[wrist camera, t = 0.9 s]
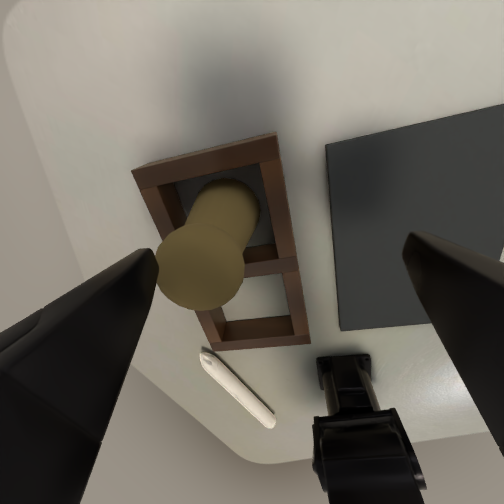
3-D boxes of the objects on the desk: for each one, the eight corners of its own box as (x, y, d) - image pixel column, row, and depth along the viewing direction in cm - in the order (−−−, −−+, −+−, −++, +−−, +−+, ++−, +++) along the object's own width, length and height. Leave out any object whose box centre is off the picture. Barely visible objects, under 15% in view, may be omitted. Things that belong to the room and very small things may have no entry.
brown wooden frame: (307, 322, 28) (311, 344, 26) (218, 331, 30) (213, 352, 28) (276, 131, 19) (276, 134, 16) (148, 163, 21) (130, 170, 18)
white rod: (196, 348, 32) (190, 364, 30) (208, 343, 32) (203, 359, 30) (265, 415, 39) (264, 432, 37) (276, 413, 39) (276, 429, 37)
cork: (238, 251, 24) (214, 341, 15) (184, 219, 23) (120, 294, 14) (273, 203, 22) (271, 276, 12) (214, 163, 20) (159, 210, 11)
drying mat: (477, 314, 26) (482, 319, 25) (339, 327, 28) (341, 331, 28) (541, 95, 16) (549, 94, 16) (325, 144, 19) (326, 145, 18)
